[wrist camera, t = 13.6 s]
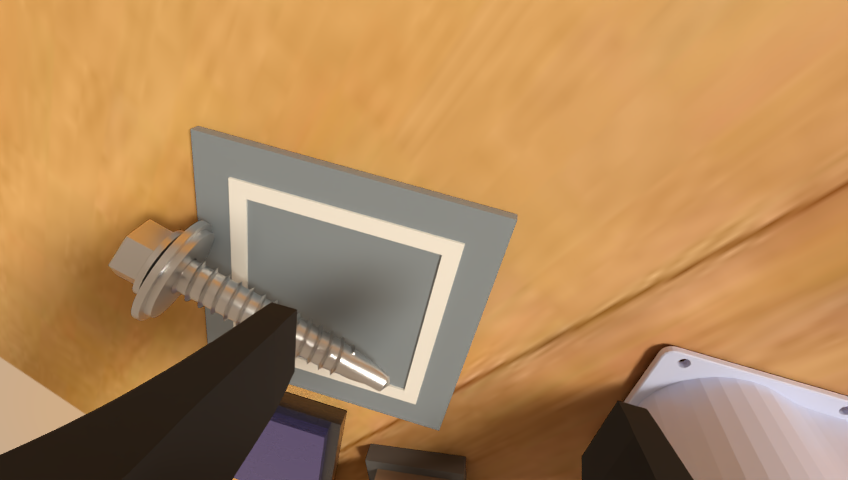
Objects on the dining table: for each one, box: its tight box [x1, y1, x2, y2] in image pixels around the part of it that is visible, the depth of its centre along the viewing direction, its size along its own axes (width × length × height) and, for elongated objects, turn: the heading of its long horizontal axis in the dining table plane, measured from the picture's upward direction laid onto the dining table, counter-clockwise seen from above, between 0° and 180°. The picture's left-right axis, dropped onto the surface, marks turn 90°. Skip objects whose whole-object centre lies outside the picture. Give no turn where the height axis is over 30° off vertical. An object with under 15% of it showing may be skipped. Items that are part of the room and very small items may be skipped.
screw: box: [109, 219, 390, 392], centre depth 20 cm, size 13×5×5 cm, turn 56°
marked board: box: [191, 126, 517, 431], centre depth 21 cm, size 14×14×1 cm
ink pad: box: [234, 392, 347, 480], centre depth 28 cm, size 9×9×2 cm
